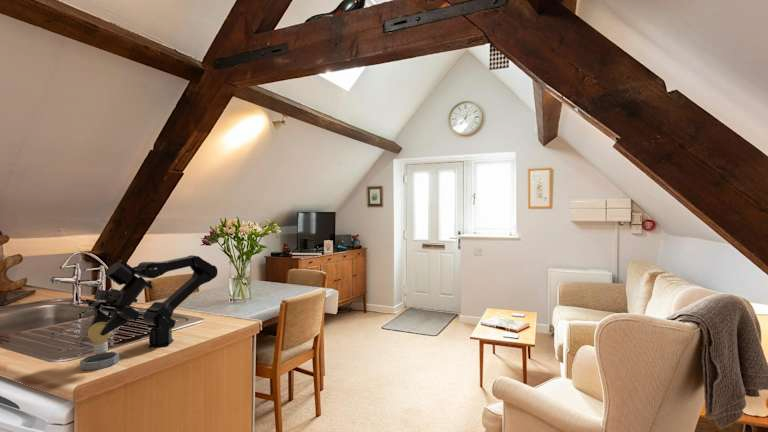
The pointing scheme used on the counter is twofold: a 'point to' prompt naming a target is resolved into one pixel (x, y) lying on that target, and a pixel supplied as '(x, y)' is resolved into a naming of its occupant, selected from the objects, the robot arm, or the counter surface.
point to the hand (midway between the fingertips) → (95, 333)
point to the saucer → (99, 361)
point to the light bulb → (99, 337)
